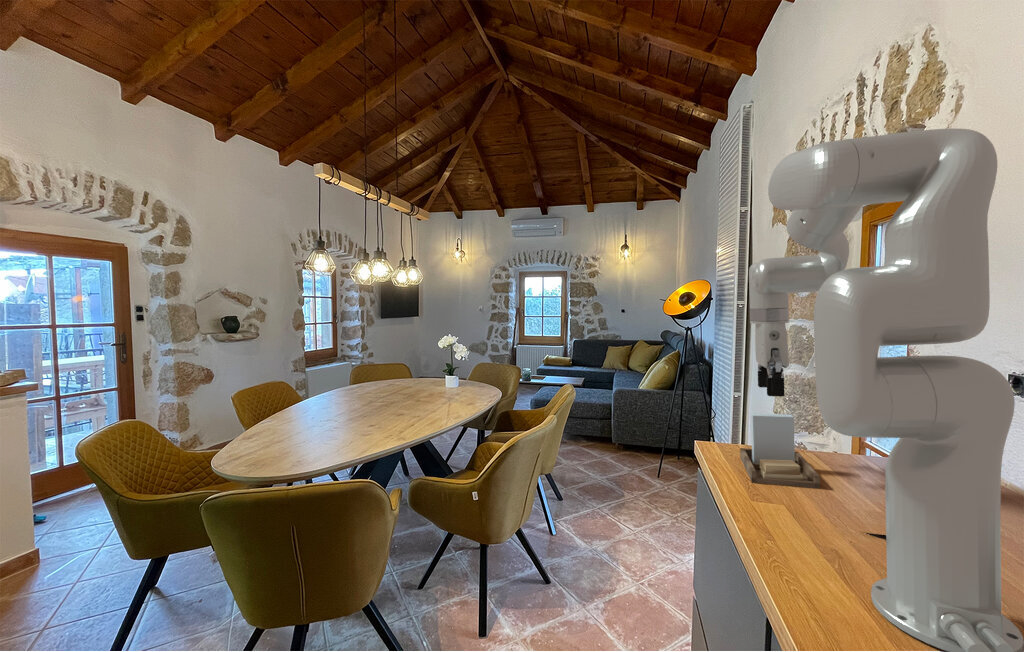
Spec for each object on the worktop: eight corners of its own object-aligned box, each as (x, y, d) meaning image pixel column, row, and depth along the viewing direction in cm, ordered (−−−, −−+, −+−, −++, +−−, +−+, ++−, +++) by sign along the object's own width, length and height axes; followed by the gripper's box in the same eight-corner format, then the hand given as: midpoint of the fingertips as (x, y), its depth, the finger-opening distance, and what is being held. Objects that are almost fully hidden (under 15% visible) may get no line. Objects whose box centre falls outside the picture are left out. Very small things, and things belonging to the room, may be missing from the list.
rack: (820, 493, 84) (819, 476, 84) (752, 487, 88) (751, 470, 88) (798, 466, 98) (798, 451, 98) (740, 462, 102) (740, 448, 102)
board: (795, 470, 93) (793, 417, 93) (754, 467, 96) (752, 415, 96) (792, 466, 96) (790, 414, 95) (752, 463, 98) (750, 413, 98)
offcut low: (803, 484, 86) (803, 476, 86) (764, 481, 89) (764, 473, 88) (798, 478, 89) (798, 469, 89) (760, 475, 92) (760, 467, 92)
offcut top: (800, 474, 87) (799, 466, 87) (765, 473, 88) (765, 465, 88) (792, 468, 90) (792, 460, 90) (759, 467, 91) (759, 459, 91)
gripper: (799, 317, 86) (801, 400, 86) (778, 314, 102) (780, 384, 103) (757, 318, 88) (759, 399, 89) (743, 315, 104) (745, 384, 105)
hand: (770, 391), depth 96 cm, fingers open, 9 cm apart
